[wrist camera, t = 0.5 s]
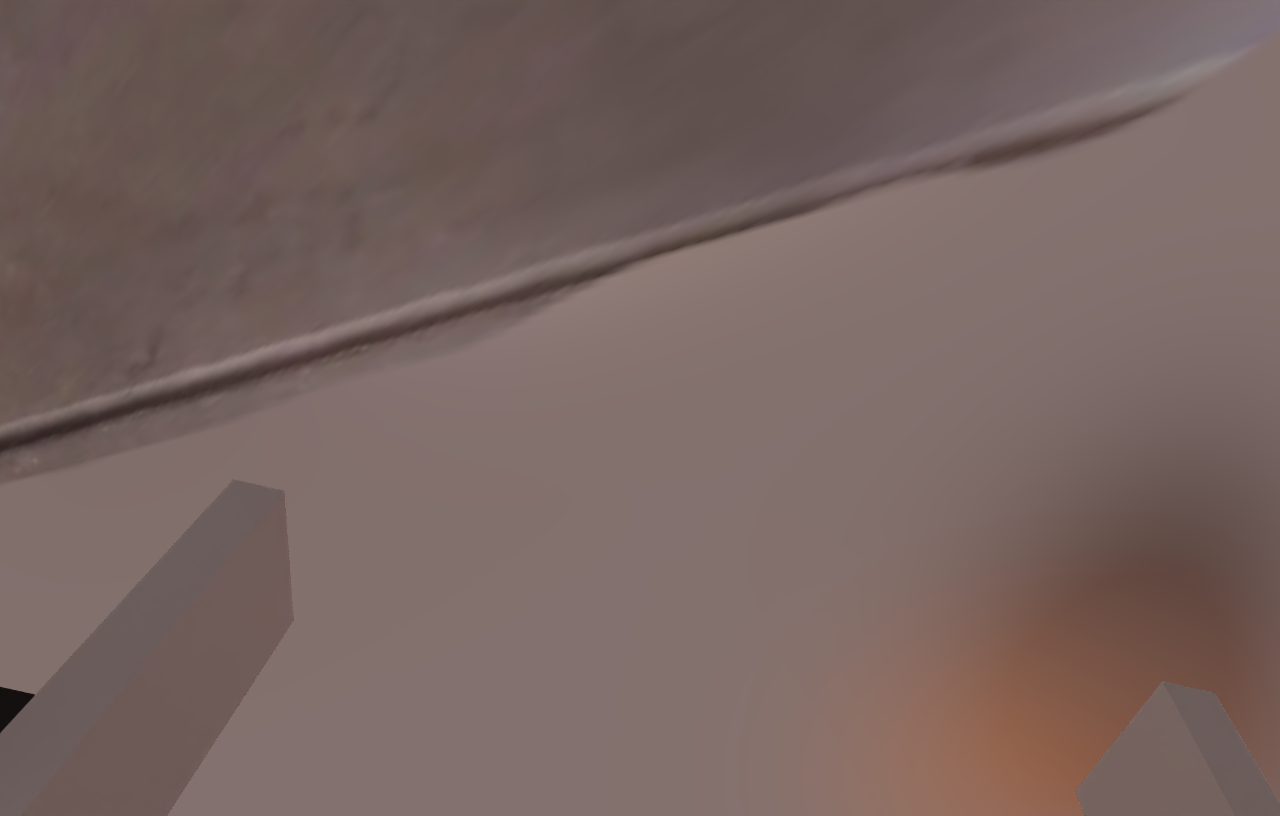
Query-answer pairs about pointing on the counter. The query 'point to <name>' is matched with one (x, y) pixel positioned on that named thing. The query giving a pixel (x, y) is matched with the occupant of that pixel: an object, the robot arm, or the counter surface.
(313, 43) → the counter surface
